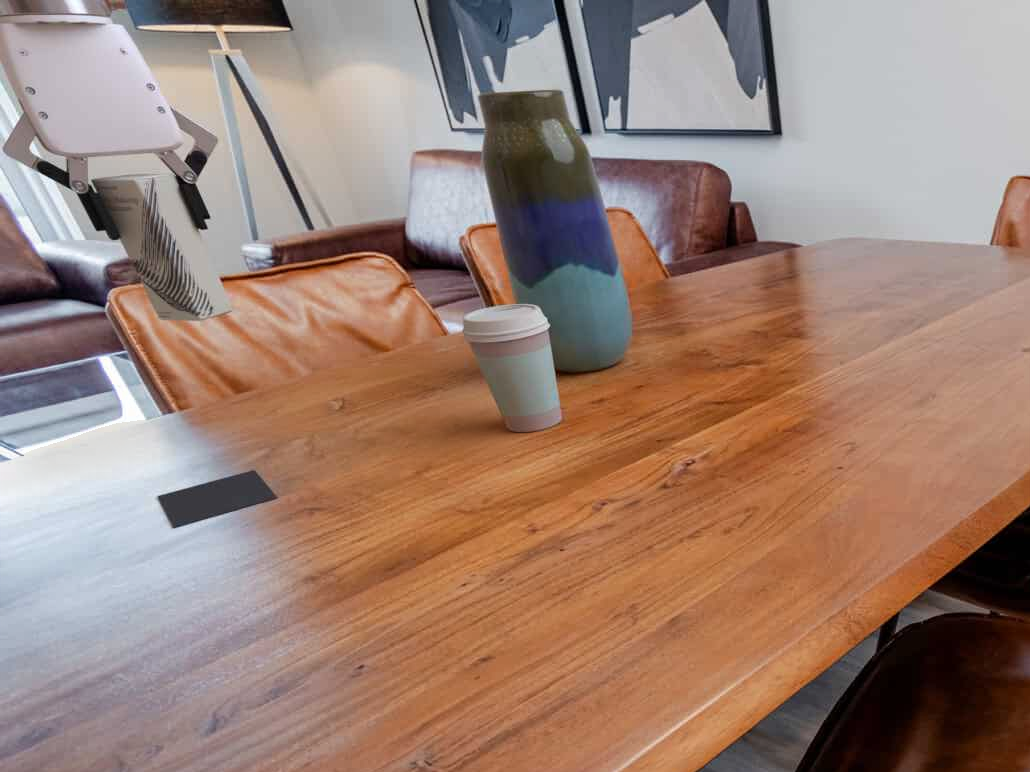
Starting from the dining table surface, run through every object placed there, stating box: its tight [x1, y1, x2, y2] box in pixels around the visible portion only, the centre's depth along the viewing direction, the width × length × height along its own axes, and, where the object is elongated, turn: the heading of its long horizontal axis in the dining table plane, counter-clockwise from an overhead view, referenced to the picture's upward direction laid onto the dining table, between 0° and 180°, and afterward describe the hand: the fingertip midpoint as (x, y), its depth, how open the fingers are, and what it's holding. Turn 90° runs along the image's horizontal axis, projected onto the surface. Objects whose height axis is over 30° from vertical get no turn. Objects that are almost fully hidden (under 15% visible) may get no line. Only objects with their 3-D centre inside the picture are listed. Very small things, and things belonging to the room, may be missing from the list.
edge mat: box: [157, 469, 278, 529], centre depth 78 cm, size 8×10×1 cm
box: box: [90, 173, 234, 322], centre depth 80 cm, size 5×4×13 cm
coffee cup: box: [461, 303, 563, 433], centre depth 88 cm, size 9×8×12 cm
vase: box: [477, 89, 634, 373], centre depth 102 cm, size 14×14×31 cm
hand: (158, 231), depth 80 cm, fingers closed on box, 6 cm apart
